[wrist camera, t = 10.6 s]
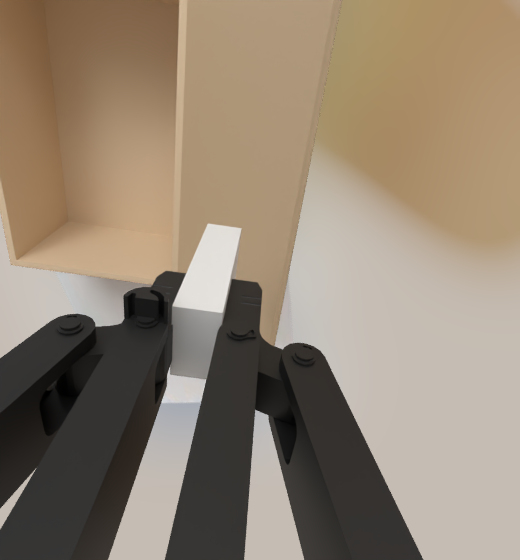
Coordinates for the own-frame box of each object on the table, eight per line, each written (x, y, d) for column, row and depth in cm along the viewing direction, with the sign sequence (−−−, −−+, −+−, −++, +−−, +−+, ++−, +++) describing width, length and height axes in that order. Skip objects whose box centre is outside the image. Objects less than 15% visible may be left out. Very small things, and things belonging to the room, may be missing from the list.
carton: (37, -25, 35) (-54, -58, 26) (213, 3, 36) (188, -19, 26) (66, 223, 47) (11, 264, 37) (198, 242, 47) (177, 288, 38)
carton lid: (342, -50, 14) (351, -47, 14) (188, -19, 26) (193, -18, 26) (256, 410, 26) (262, 408, 26) (177, 289, 38) (180, 288, 38)
